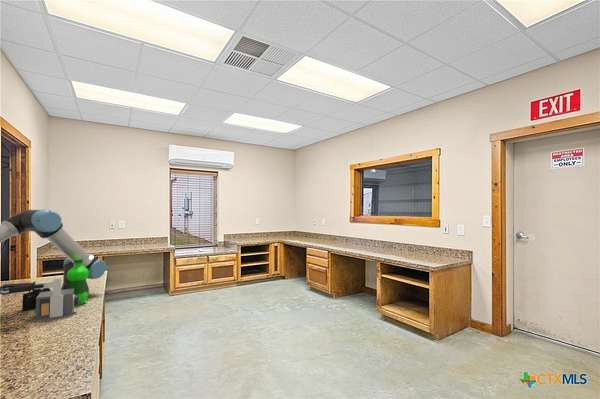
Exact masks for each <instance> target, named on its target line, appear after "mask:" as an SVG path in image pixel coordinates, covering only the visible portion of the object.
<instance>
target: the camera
mask: <svg viewBox="0 0 600 399" xmlns="http://www.w3.org/2000/svg"><path fill="white" fill-rule="evenodd" d="M48 291H52V290H51V288H44V289H34V291H33V292H32V291H28V292H24V293H23V295H22V299H21V300H22V301H21V302H22V303H21V306H22V308H21V311H22V312H27V311H28V312H29V311H31V310H35V309H36V298H37V296H38V295H39V294H40V292H48Z"/></svg>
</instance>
